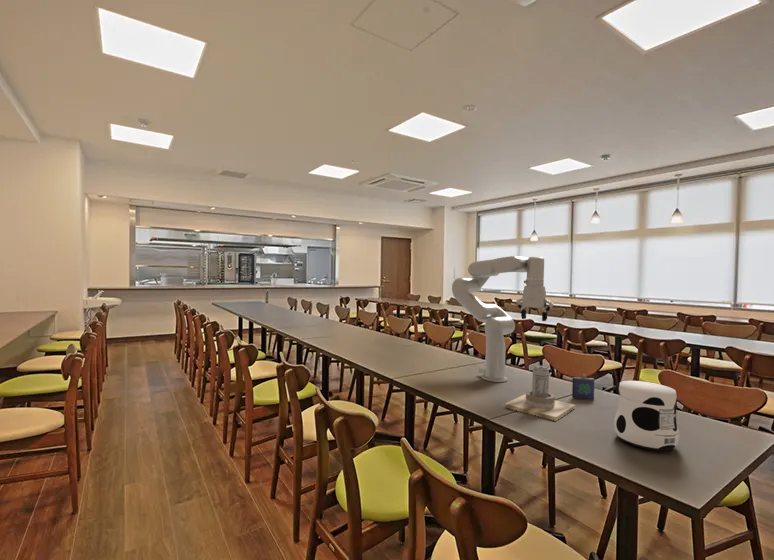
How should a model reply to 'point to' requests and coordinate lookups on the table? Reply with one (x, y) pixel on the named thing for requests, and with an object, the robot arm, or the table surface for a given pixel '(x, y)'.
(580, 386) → the flask
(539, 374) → the energy drink can
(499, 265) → the robot arm
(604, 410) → the table surface
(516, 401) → the collar board
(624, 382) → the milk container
